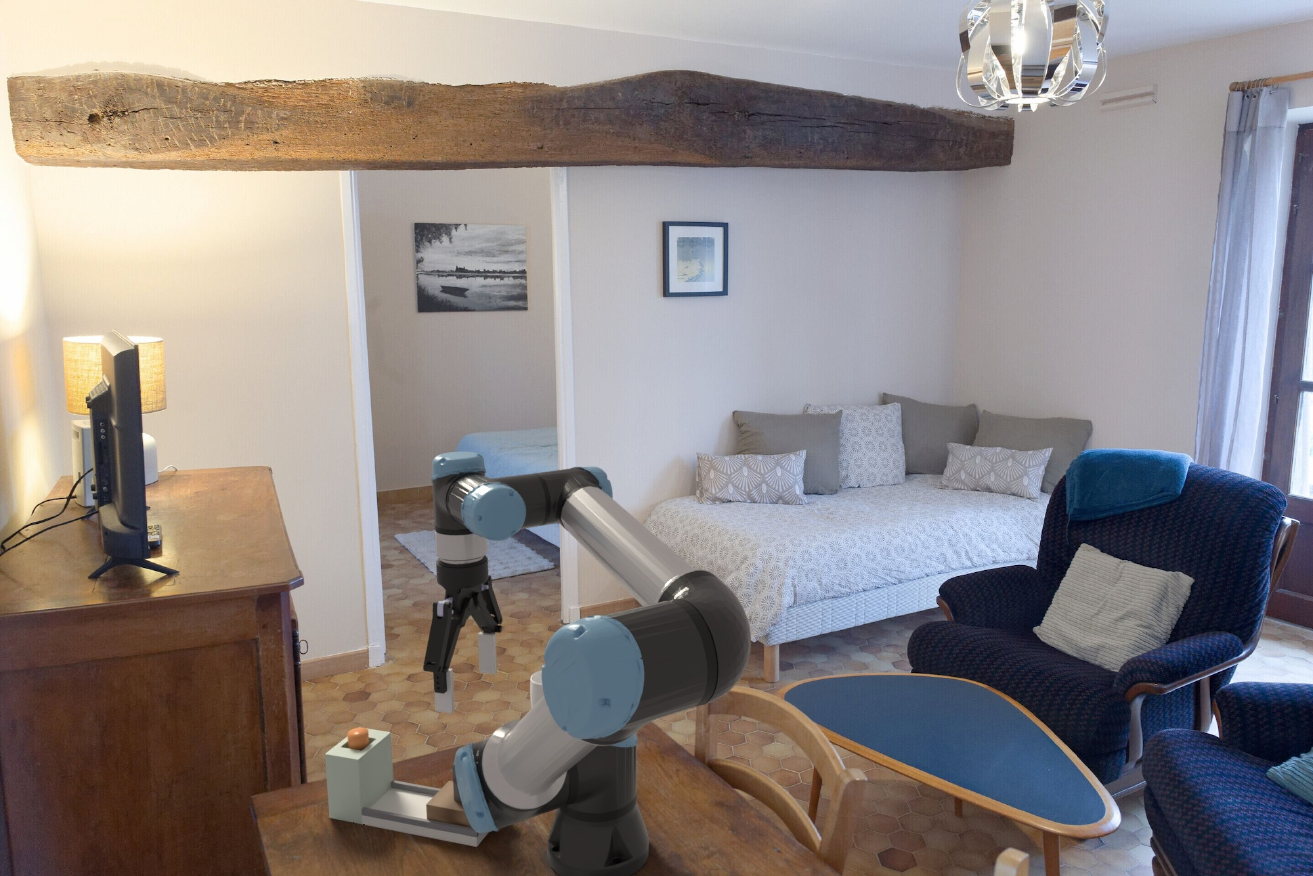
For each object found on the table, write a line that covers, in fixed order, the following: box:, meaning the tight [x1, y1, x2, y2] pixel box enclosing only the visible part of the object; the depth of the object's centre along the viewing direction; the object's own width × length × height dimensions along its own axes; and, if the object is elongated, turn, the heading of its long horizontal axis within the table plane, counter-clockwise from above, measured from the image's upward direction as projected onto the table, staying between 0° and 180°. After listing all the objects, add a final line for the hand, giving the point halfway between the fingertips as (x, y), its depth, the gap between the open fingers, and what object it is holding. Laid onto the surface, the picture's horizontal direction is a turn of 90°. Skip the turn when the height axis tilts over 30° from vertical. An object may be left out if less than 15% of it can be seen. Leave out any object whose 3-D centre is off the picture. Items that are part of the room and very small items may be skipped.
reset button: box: [346, 727, 369, 751], centre depth 148 cm, size 3×3×2 cm
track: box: [361, 779, 490, 848], centre depth 146 cm, size 20×9×2 cm, turn 73°
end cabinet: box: [324, 726, 394, 825], centre depth 149 cm, size 6×9×11 cm, turn 163°
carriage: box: [426, 761, 472, 828], centre depth 143 cm, size 10×7×9 cm
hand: (467, 691), depth 140 cm, fingers open, 13 cm apart
